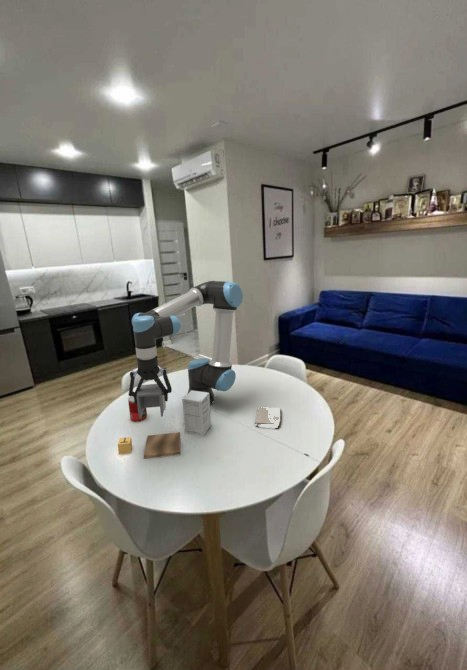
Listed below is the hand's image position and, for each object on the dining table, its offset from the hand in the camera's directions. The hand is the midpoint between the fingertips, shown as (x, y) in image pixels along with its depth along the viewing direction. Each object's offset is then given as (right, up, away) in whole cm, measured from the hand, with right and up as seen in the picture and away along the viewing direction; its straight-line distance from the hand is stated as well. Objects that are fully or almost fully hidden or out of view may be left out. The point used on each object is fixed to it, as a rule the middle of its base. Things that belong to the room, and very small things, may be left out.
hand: (152, 409), depth 121 cm
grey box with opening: (0, -1, 0) cm, 1 cm away
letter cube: (-11, -17, +2) cm, 21 cm away
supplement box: (+16, -13, +17) cm, 27 cm away
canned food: (-14, -11, +26) cm, 32 cm away
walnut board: (+3, -16, +5) cm, 17 cm away
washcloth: (+50, -11, +25) cm, 57 cm away
